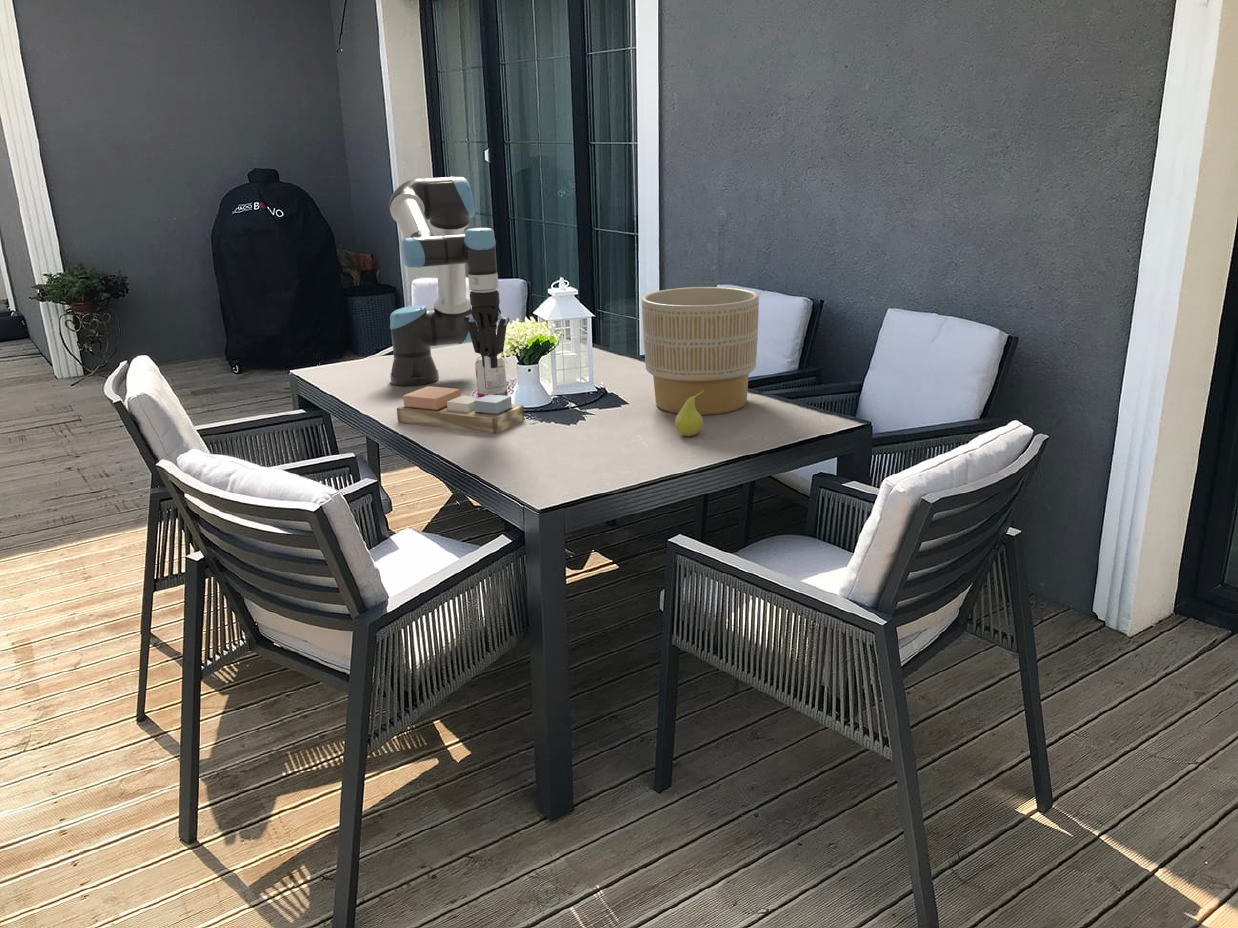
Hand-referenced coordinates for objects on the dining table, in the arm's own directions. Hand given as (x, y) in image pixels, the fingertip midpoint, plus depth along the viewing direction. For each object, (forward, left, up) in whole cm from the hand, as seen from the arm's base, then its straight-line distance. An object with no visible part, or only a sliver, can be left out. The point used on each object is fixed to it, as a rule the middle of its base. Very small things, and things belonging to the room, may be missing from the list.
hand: (491, 379), depth 263 cm
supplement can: (-13, -9, -13) cm, 20 cm away
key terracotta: (0, -20, -10) cm, 22 cm away
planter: (-38, +44, -13) cm, 60 cm away
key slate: (0, 0, -10) cm, 10 cm away
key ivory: (0, -9, -11) cm, 14 cm away
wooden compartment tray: (0, -11, -12) cm, 17 cm away
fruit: (-9, +53, -13) cm, 55 cm away
